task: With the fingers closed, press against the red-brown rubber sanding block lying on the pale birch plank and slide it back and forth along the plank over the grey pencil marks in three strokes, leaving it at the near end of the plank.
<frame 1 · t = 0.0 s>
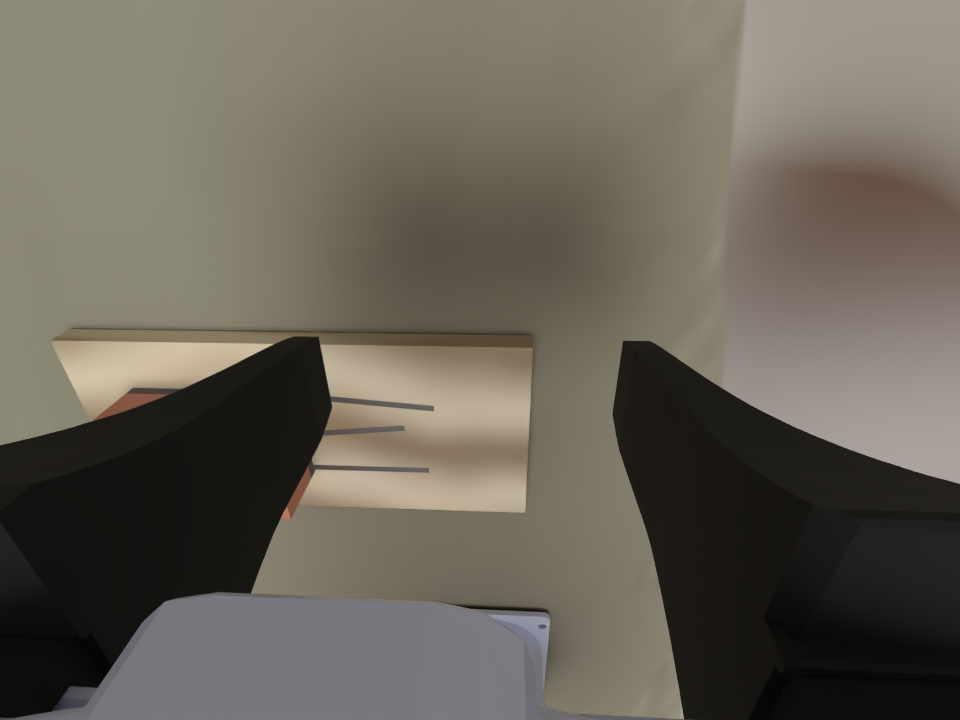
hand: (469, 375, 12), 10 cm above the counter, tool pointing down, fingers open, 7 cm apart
plank: (314, 418, 25), on the counter
sanding block: (227, 431, 25), point 1 cm above the counter, touching plank
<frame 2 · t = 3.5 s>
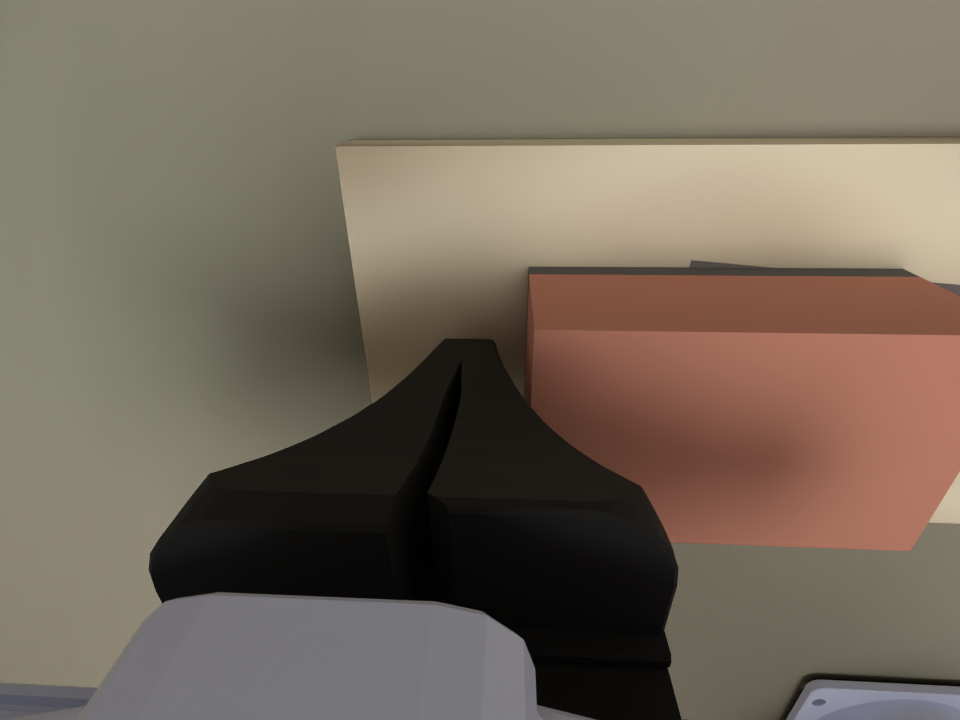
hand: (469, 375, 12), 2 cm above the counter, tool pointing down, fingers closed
plank: (791, 345, 13), on the counter
sanding block: (689, 366, 12), point 1 cm above the counter, touching gripper
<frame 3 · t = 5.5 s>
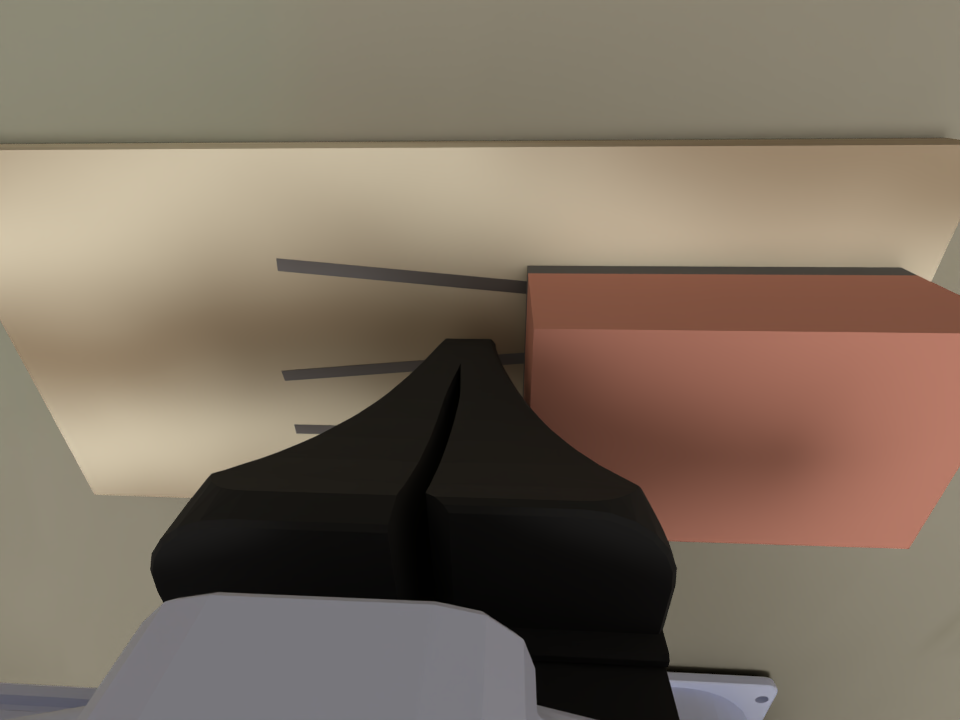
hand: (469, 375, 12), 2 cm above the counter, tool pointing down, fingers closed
plank: (439, 340, 13), on the counter
sanding block: (688, 365, 12), point 1 cm above the counter, touching gripper, plank
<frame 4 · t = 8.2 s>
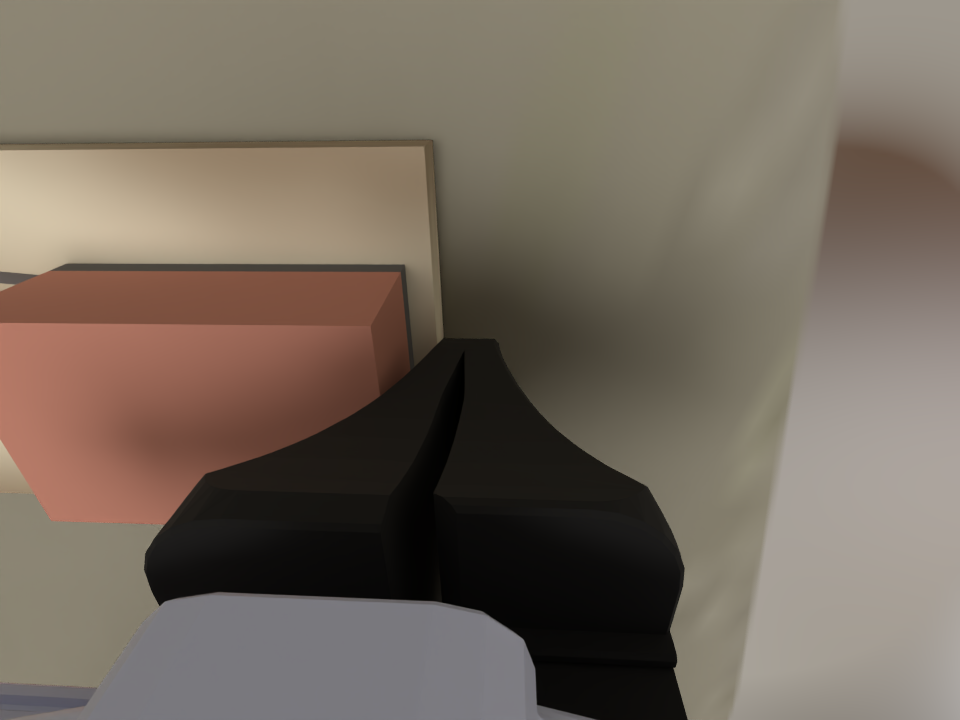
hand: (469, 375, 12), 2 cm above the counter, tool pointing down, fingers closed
plank: (58, 335, 14), on the counter
sanding block: (258, 358, 13), point 1 cm above the counter, touching gripper, plank
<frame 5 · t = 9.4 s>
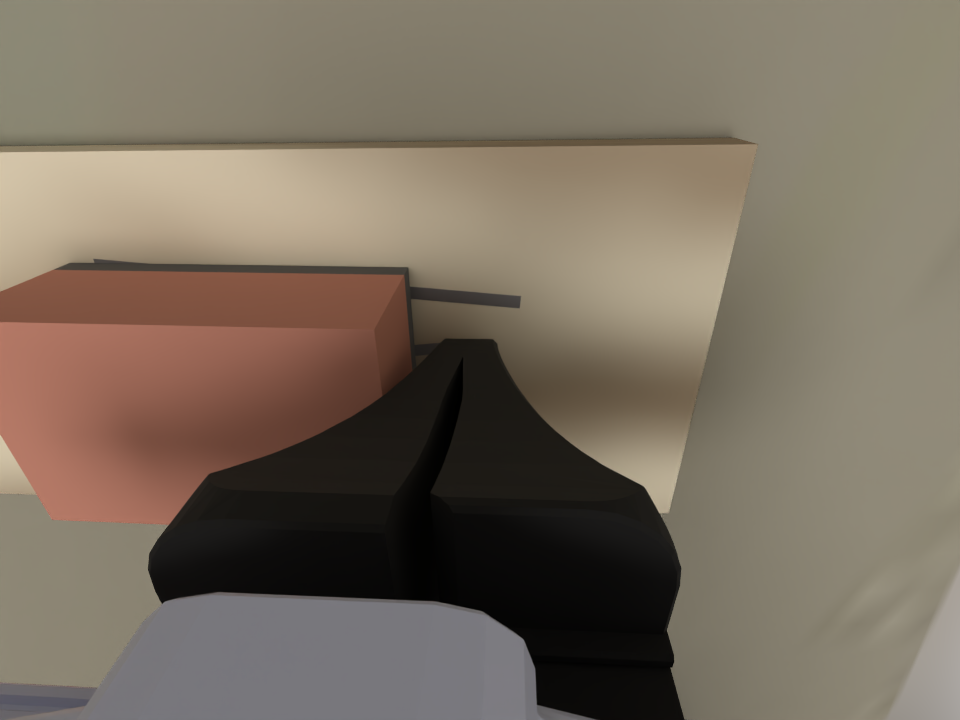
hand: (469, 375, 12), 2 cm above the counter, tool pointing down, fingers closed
plank: (283, 339, 14), on the counter
sanding block: (260, 359, 13), point 1 cm above the counter, touching gripper
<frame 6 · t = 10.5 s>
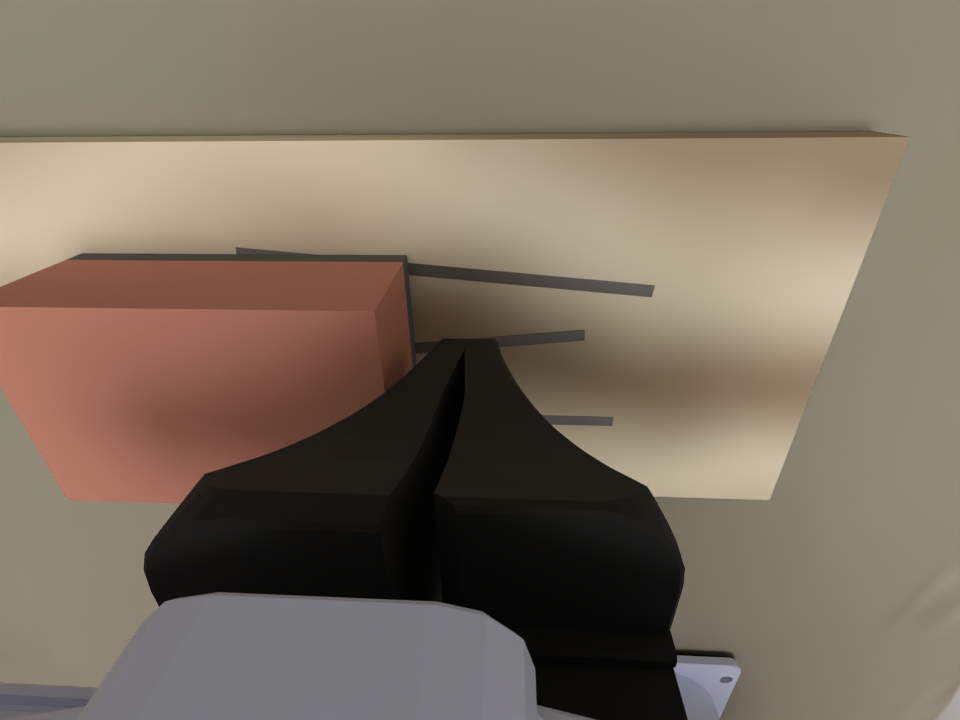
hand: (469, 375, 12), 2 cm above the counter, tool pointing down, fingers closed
plank: (399, 328, 14), on the counter
sanding block: (265, 346, 13), point 1 cm above the counter, touching plank
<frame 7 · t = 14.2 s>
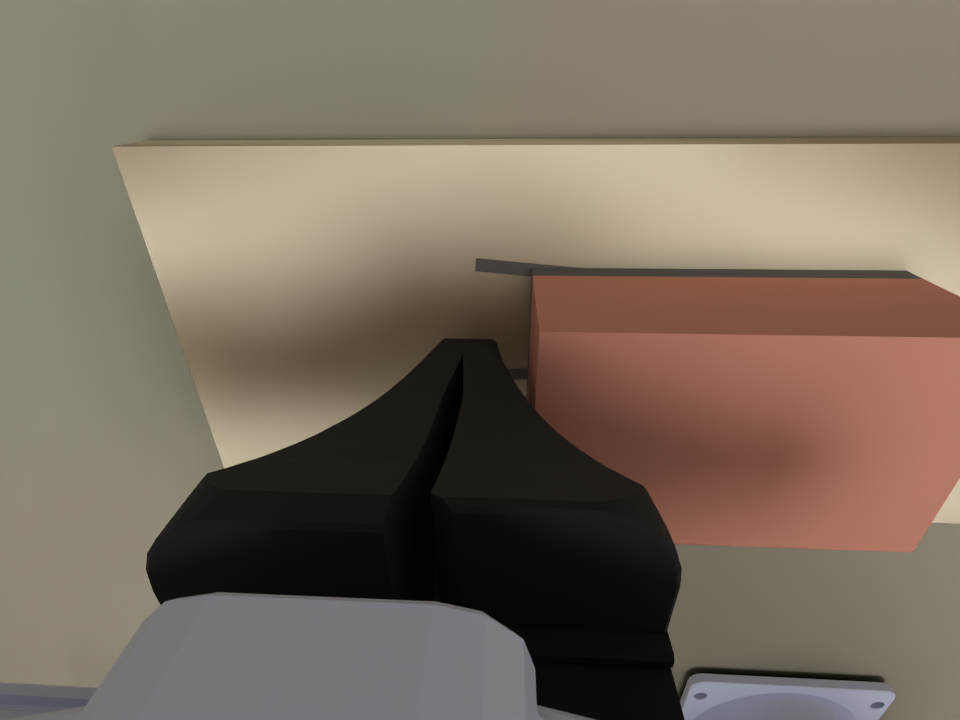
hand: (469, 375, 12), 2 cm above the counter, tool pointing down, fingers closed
plank: (609, 342, 13), on the counter
sanding block: (692, 367, 12), point 1 cm above the counter, touching gripper, plank
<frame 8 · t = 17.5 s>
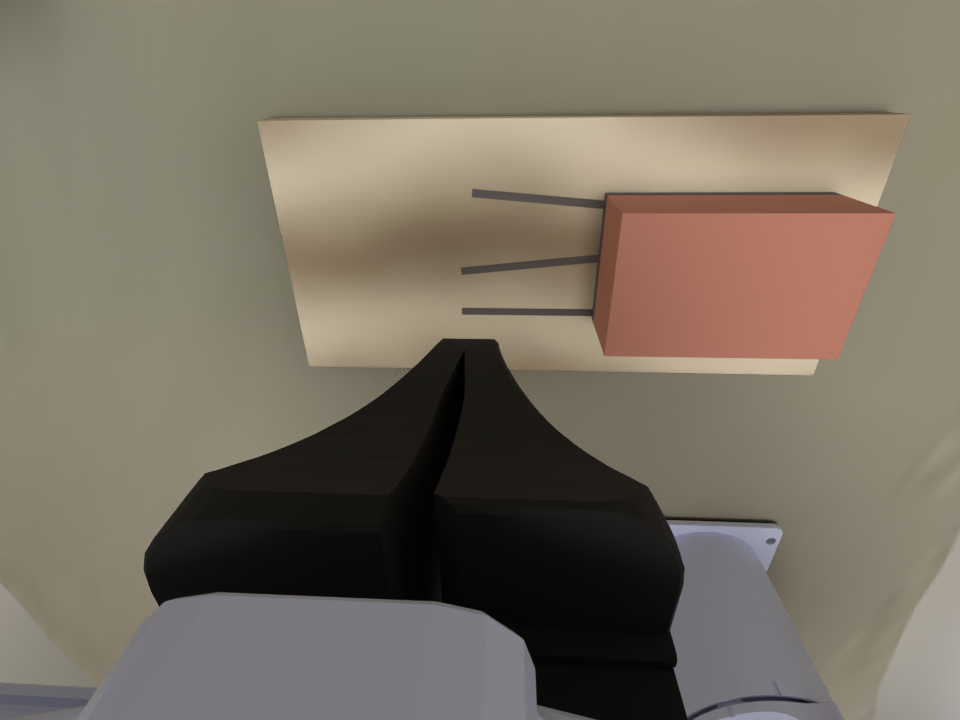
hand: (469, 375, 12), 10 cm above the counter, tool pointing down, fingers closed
plank: (559, 251, 20), on the counter
sanding block: (703, 260, 19), point 1 cm above the counter, touching plank
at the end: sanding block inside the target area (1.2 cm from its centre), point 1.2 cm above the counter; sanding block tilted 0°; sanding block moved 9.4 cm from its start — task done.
